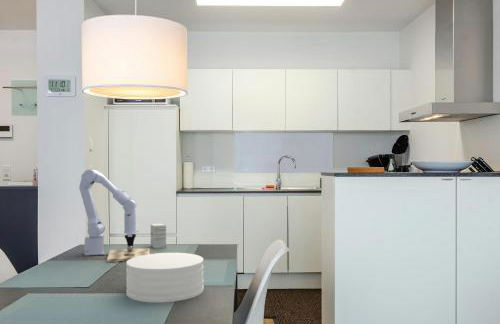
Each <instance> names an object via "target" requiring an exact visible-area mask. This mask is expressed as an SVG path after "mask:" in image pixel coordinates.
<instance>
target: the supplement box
mask: <svg viewBox="0 0 500 324" xmlns="http://www.w3.org/2000/svg"><path fill="white" fill-rule="evenodd" d="M150 247H152V248H153V249H161V248H163V249H164V248H167V225H166V224H164V223H150Z"/></svg>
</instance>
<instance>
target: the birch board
mask: <svg viewBox="0 0 500 324" xmlns="http://www.w3.org/2000/svg"><path fill="white" fill-rule="evenodd" d="M148 254H151V253H150V247H144V248H143V247H142V248H141V247H140V248H133V250H132V251H128V250H127V248H123V249H121V248H120V249H110V250H109V252H108V255H107V258H106V263H118V261H124V262H127V261H128V260H129V259H131V258H134V257H137V256H142V255H148Z"/></svg>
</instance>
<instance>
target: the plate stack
mask: <svg viewBox="0 0 500 324" xmlns="http://www.w3.org/2000/svg"><path fill="white" fill-rule="evenodd" d="M204 261H205V260H204V257H202V256H201V255H198V254H194V253H187V252H161V253H160V252H158V253H157V252H155V253H150V254H148V255H142V256H137V257H134V258H131V259H129V260H128V261H125V263H126V264H125V265H126V270H125V272H126V276H125V277H126V285H125V287H126V290H125V291H126V296H127V298H129V299H131V300H135V301H138V302H144V303H168V302H169V303H170V302H171V303H173V302H180V301H185V300H189V299H192V298H195V297H197V296H200V295H201V294H202V293H204V289H205V288H204V287H205V285H204V283H205V281H204V277H205V275H204V273H205V272H204V268H205V267H204Z"/></svg>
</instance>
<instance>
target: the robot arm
mask: <svg viewBox="0 0 500 324" xmlns="http://www.w3.org/2000/svg"><path fill="white" fill-rule="evenodd" d="M80 177H81V179H80V183H79V186H78V187H79V188H78V189H79V191H80V195H81V198H82V202H83V207H84V209H85V213H86V217H87V234H88V236H87V237H86V236H85V238H84V249H83V250H84V256H95V255H96V256H98V255H105V253H106V251H105V248H104V242H105V239H104V237H105V236H104V232H105V230H106V227H105V225H104V224H103V221H102V220H101V218H100V217H99V214H98V211H97V207H96V203H95V199H94V197H93V193H92V190H91V188H92V186H93V185H95V183H96V184H97V183H98V184H101V185H102V186H104V187H105V188H106V189H107V190H108V191H109V192H110V193H111V194H112V198H113V199H114V200H115V201H116V202H118V204H119V205H121V206H122V208H123V211H124V213H123V216H124V221H123V222H124V223H123V224H124V231H123V232H124V233H123V234H125V235H124V238H125V240H126V241H125V242H126V244H127V247H128V246H130V245H131V246H132V247H133V248H134V242H135V239H136V236H137V234H136V233H139V230H137V226H136V225H137V222H136V220H137V218H136V216H137V215H136V208H137V202H136V200H135V199H133V198H132V196H128V194H127V193H126V191H125V190H124V189H121V188H117V187H116V186H115V185H114V184H113V183H112V182H111V181H110V180H109V179H108V178H107V177H106V176H105V175H104V174H103V173H102V172H100V170H98V169H96V168H95V169H94V168H93V169H86V170H84V172H83V173H82V174H81V176H80Z"/></svg>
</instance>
